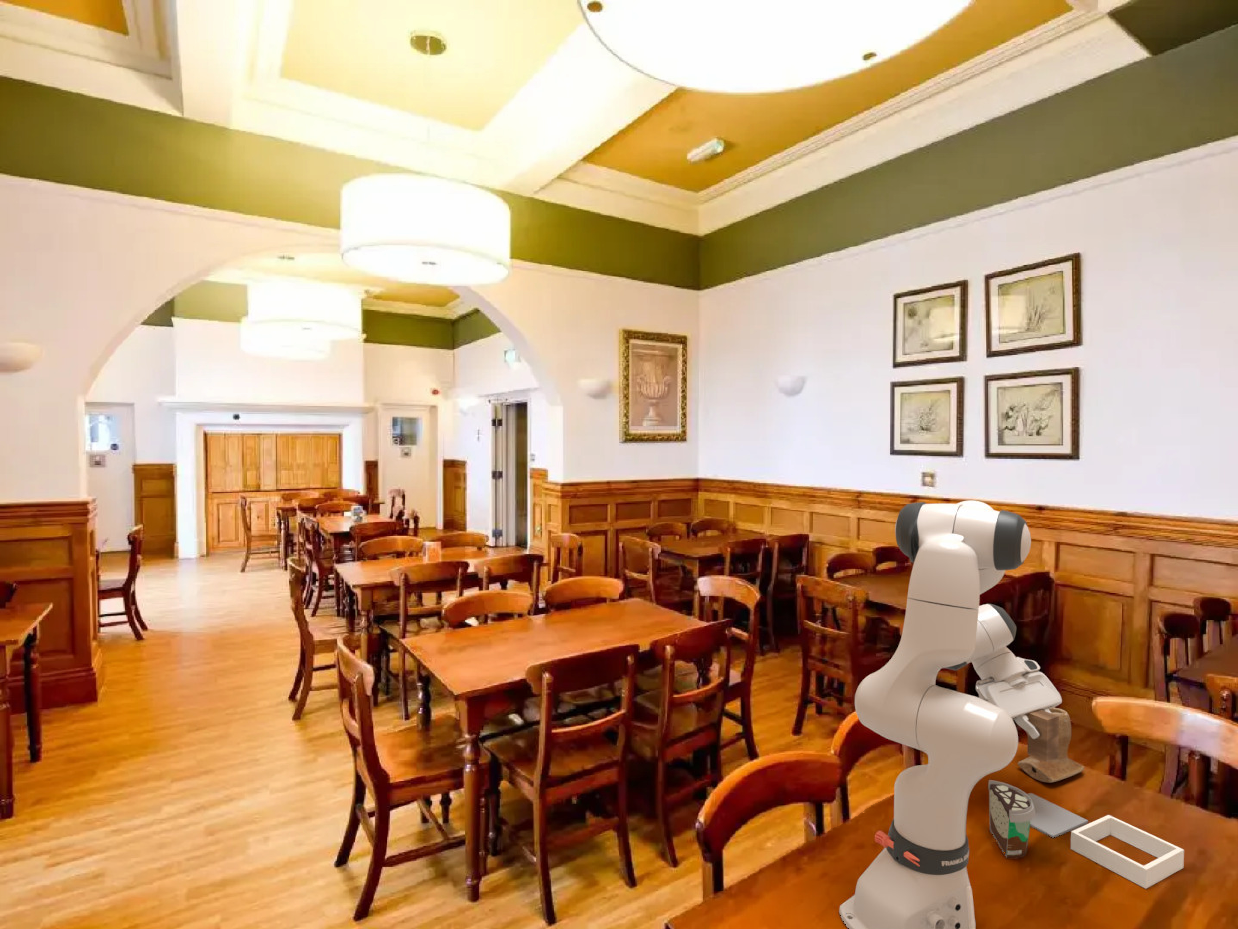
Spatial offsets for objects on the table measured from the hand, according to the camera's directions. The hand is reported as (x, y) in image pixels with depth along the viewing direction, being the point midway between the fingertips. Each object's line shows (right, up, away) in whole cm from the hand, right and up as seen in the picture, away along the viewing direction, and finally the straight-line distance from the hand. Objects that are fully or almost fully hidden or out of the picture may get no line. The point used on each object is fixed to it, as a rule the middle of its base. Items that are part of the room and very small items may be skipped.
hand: (1046, 734), depth 140 cm
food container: (-12, -19, -9) cm, 24 cm away
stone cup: (+13, -17, +20) cm, 29 cm away
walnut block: (0, -5, +1) cm, 5 cm away
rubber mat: (0, -18, +1) cm, 18 cm away
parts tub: (+7, -18, -13) cm, 24 cm away
